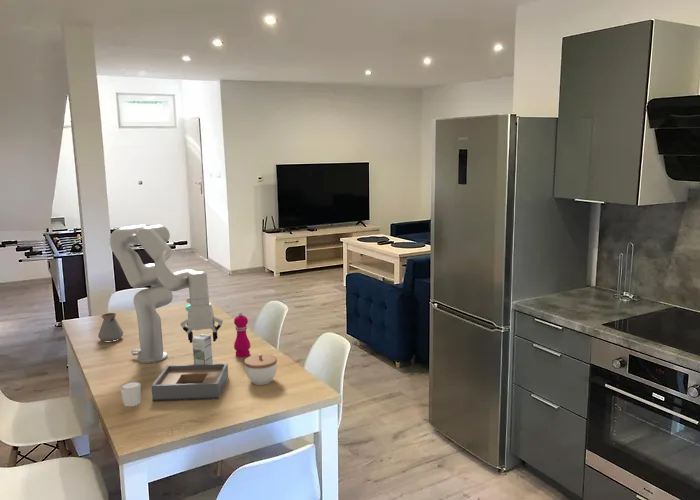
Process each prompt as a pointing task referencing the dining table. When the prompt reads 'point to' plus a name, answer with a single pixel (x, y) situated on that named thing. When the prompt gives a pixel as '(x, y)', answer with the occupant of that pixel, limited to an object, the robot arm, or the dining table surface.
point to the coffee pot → (110, 328)
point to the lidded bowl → (261, 368)
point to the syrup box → (202, 349)
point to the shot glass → (131, 393)
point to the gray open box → (190, 382)
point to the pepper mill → (241, 337)
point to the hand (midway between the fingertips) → (203, 341)
